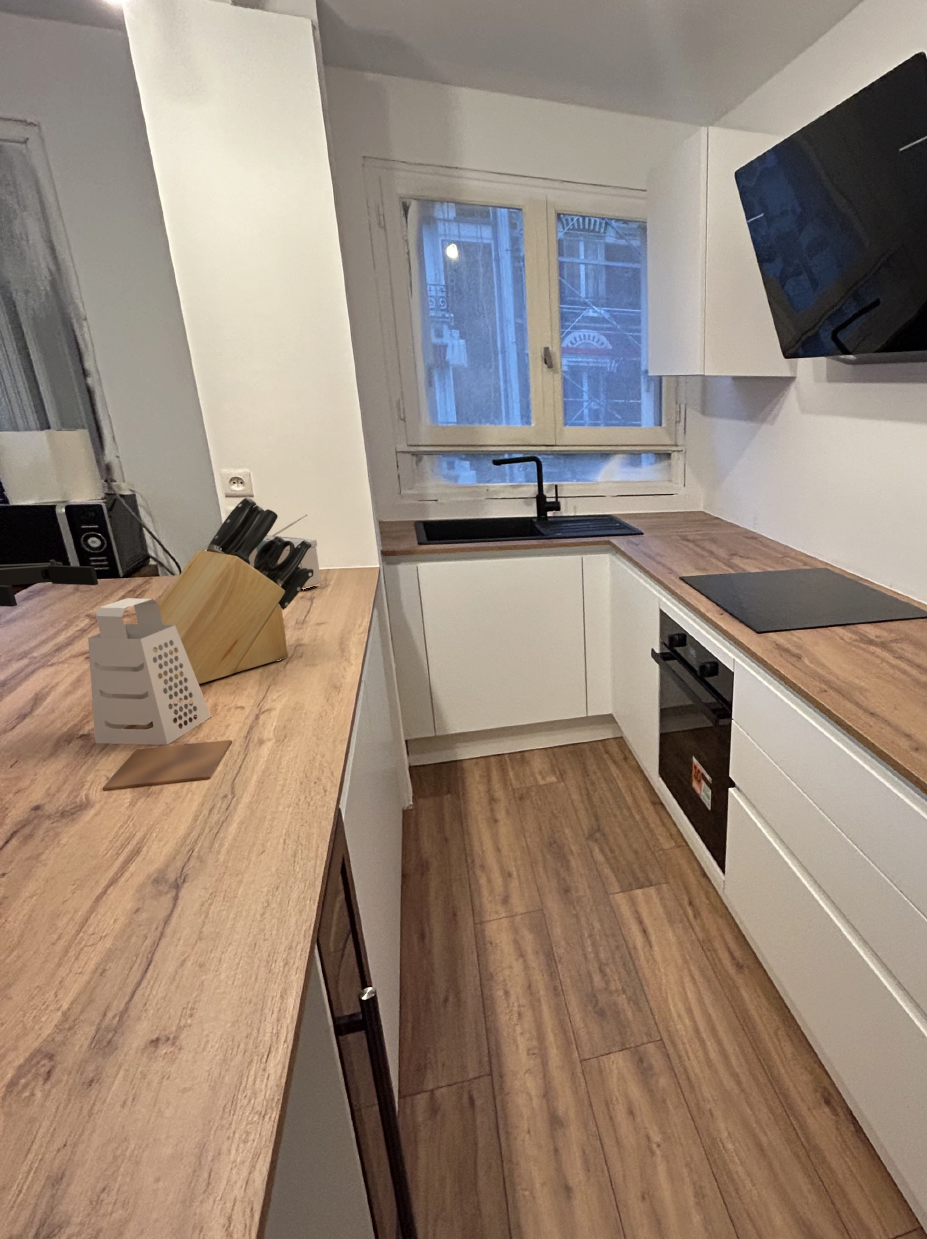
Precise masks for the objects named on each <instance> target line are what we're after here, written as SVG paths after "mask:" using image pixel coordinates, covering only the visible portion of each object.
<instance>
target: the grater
mask: <svg viewBox="0 0 927 1239" xmlns="http://www.w3.org/2000/svg"><path fill="white" fill-rule="evenodd" d="M132 606H133V607H134V612H135V617H136V620H137V623H125V622H124V618H123V616H124V613H125V610H126V609H127V608H130V607H132ZM95 618H96V619H95V620H96V623H97V627H98V631H99V633H97V634H95V635H92V636H90V637H87V642H88V656H89V669H90V670H89V671H90V686H91V699H92V701H91V702H92V716H93V729H94V731H93V732H94V744H109V745H110V744H111V745H112V744H114V745H115V744H117V745H157V746H158V745H161V746H162V745H163V746H169V745H170V744H171V743H173V742H175V741H176V740H177V739H179V738H181V737H182V736H184V735H185V734H187V733H189V732H190V731H192V730H193V729H195V728H197V727H198V726H200V725H201V724H204V723H205V722H206V721H208V720H209V719H211V718H212V717H211V716H212V714H211V711H210V709H209V706H208V703H207V701H206V699H205V696H204V694H203V692H202V689H201V687H200V684H198V681H197V679H196V676H195V674H194V671H193V669H192V666H191V664H190V661H189V659H188V656H187V654H186V651H185V649H184V646H183V644H182V641H181V639H180V636H179V634H178V631H177V629H176V626H175V625H163V624H162V619H161V614H160V610H159V603H158V602H156V601H155V599H154V598H137V597H136V598H135V597H133V598H132V597H127V598H124V599H120V600H118V601H115V602H111V603H108V604H104V605H102V606H98V609H97V611H96V613H95ZM177 648H178V653H175V652H174V650H176V649H177ZM153 649H157V650H158V651H157V653H154V651H153ZM159 649H163V650H161V651H160V650H159ZM169 650H172V651H173V654H169ZM164 652H167V653H168V654H164ZM143 669H144V670H143ZM159 673H162V676H163V677H158V674H159ZM163 673H168V675H167V676H164V674H163ZM175 674H178V676H179V677H178V678H174V675H175ZM179 674H184V675H183V677H181V676H180V675H179ZM170 676H172V677H173V678H172V677H170ZM180 701H182V703H181V702H180ZM175 702H177V703H175ZM190 702H191V703H190ZM195 716H197V717H196V719H195ZM179 717H181V719H179ZM210 717H211V718H210ZM175 718H176V722H174V719H175ZM190 718H191V719H192V721H191V722H190ZM208 718H209V719H208ZM207 719H208V720H207ZM205 720H206V721H205ZM185 721H186V722H187V723H186V725H185V723H184V722H185ZM151 722H152V727H150V728H148V729H143V728H142V729H141V728H140V729H139V728H138V729H137V728H126V727H128V726H129V725H131V726H147V725H149V724H150V723H151ZM200 723H201V724H200ZM180 724H181V725H182V727H181V728H180V726H179V725H180ZM199 724H200V725H199ZM125 726H126V727H125ZM196 726H197V727H196Z"/></svg>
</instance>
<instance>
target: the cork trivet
mask: <svg viewBox="0 0 927 1239" xmlns="http://www.w3.org/2000/svg"><path fill="white" fill-rule="evenodd" d="M232 744H233V740H232V739H226V740H217V741H216V740H215V741H207V742H206V741H204V742H195V743H185V744H175V745H174V744H173V745H163V746H153V747H144V748H136V749H135V750H134V751H133V752H132V753H131V754H130V755H129V757H128V758H127V759H126V760H125V761H124V763H123V764H121V766H120V767H119V768H118V769H117V771H116V772H115V773H113V775H112V776H111V777H110V778H109V780H107V782H106V783H105V784H104V785H103V787H102V791H109V790H110V791H111V790H119V789H120V790H121V789H128V788H138V787H147V786H157V785H165V784H175V783H181V782H182V783H183V782H192V781H201V780H209V779H211V778H212V777H213V774H214V773H215V771H216V769H217V768H218V767H219V765H220V763H221V761H222V760H223V758H224V756H225V755H226V753H227V752H228V749H229V748H230V746H231V745H232ZM222 757H223V758H222ZM221 759H222V760H221Z"/></svg>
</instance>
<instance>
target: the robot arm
mask: <svg viewBox="0 0 927 1239" xmlns="http://www.w3.org/2000/svg"><path fill="white" fill-rule="evenodd" d="M44 583H51V584H52V585H73V586H74V585H75V586H76V585H77V586H98V585H99V580H98V577H97V573H96V568H95V566H85V565H82V566H81V565H63V562H61V561H56V560H55V559H49V562H38V563H13V564H12V563H11V564H10V563H9V564H0V607H7V608H8V607H9V608H13V607H17V606H18V603H17V599H16V595H15V592H14V588H13V586H19V585H31V584H44Z"/></svg>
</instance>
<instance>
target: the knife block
mask: <svg viewBox="0 0 927 1239" xmlns="http://www.w3.org/2000/svg"><path fill="white" fill-rule="evenodd" d="M278 518H279V516H278V514H277V513H276V512H275V511H273V510H271V509H269V508H268V509H264V508H263V507H261V506H260V505H258V504H257V503H256V501H255V500H253V499H252V498H251V497H250V496H246V497H244V498H243V499H242V500H241V501H239V503H237V505H236V506H235V507H234V508H233V509H232V511H231V512H230V513H229V514H228V516H227V517H226V518H225V519H224V521H223V523H221V526H220V527H219V528H218V530H217V531H216V533H215V535H214V536H213V537H212V539H211V541H210V542H209V544H208V546H207V548H206V550H202V549H198V550H197V551H195V553H194V555H193V556H192V557H191V558H190V560H189V561H188V563H187V564H186V565H185V567H184V568H183V570H182V571H181V572H180V574H179V575H178V576H177V578H176V580H174V582H173V583H172V585H171V587H170V588H169V589H168V590H167V592H166V593H165V595H164V596H163V597H162V599H161V600H160V602H159V603H158V605H159V610H160V614H161V619H162V624H163V625H175V626H176V629H177V631H178V634H179V636H180V639H181V641H182V644H183V646H184V649H185V651H186V654H187V656H188V659H189V661H190V664H191V666H192V669H193V671H194V674H195V676H196V679H197V681H198V684H199V685H201V684H204V683H208V682H210V681H213V680H217V679H220V678H224V677H227V676H231V675H233V674H236V673H239V672H243V671H245V670H250V669H252V668H256V667H259V666H262V665H266V664H269V663H273V662H278V661H277V660H280V659H282V660H283V659H286V658H288V657H289V654H288V645H287V639H286V638H287V637H286V630H285V623H284V615H283V611H284V610H285V609H287V608H288V606H290V604H291V603H292V602H293V601H294V599H295V598H296V597H297V596H298V595H299V593H300V592H301V591H302V590H301V589H302V588H303V586H304V585H305V583H306V582H307V581H308V579H309V578H311V577H312V576H313V573H314V570H313V569H307V568H301V569H300V567H298V566H299V564H300V563H301V561H302V559H303V558H304V556H305V554H306V552H307V551H308V549H309V548H311V547H312V545H311V544H310V543H309V542H308V541H306V540H303V541H302V542H301V543H300V544H299V545H297V547H296V548H295V545H294V544H293V543H292V542H291V541H284V540H283V539H282V538H281V537H279V536H280V535H275V536H276V537H275V538H274V539H273V540H270V541H268V542H267V543H265V544H264V545H263V546H262V547H261V548H260V550H259V551H258V553H257V554H256V556H255V559H254V567H252V566H250V561H249V556H250V554H251V553H252V552H253V550H254V549H255V548H256V547H257V546H258V545H259V544H260V543H261V542H262V541H263V539H264V538H265V537H266V535H269V533H270V532H271V530H272V528H273V527H274V525H275V523H276V521H277V519H278ZM287 546H290V552H289V554H288V556H287V557H286V558H285V559H284V560H283V561H282V562H281V563H280V564H277V562H278V560H279V558H280V556H281V555H282V553H283V551H284V549H285V548H286V547H287ZM276 564H277V565H276ZM262 572H266V573H267V572H268V573H267V575H266V573H262ZM265 575H266V576H265ZM159 650H160V651H161V650H163V649H159ZM153 651H154V653H157V651H158V650H157V649H153ZM174 652H175V653H178V648H177V649H176V650H174ZM164 654H168V653H167V652H164ZM169 654H173V651H172V650H169ZM280 661H281V660H280ZM143 670H144V669H143ZM163 674H164V676H167V675H168V673H163ZM179 675H180V676H181V677H183V675H184V674H179ZM158 677H163V676H162V673H159V674H158ZM170 677H172V676H170ZM178 677H179V676H178V674H175V675H174V678H178ZM172 678H173V677H172Z"/></svg>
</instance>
